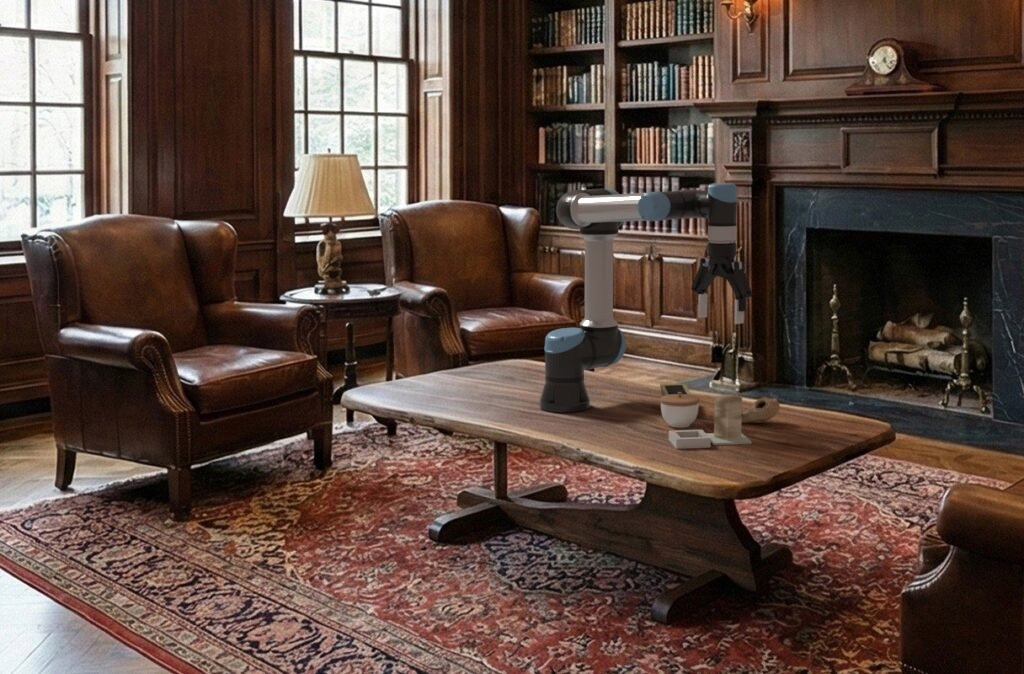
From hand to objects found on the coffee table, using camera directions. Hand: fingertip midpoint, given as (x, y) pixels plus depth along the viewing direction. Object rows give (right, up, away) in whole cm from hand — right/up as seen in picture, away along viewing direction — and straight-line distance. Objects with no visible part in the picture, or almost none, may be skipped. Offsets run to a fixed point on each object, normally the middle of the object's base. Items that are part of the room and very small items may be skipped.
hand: (720, 320), depth 305 cm
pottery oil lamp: (+13, -29, +13) cm, 34 cm away
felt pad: (+1, -32, -4) cm, 32 cm away
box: (-7, -27, +28) cm, 39 cm away
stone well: (-10, -32, -8) cm, 35 cm away
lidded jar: (-9, -29, +12) cm, 33 cm away
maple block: (+1, -31, -4) cm, 31 cm away
